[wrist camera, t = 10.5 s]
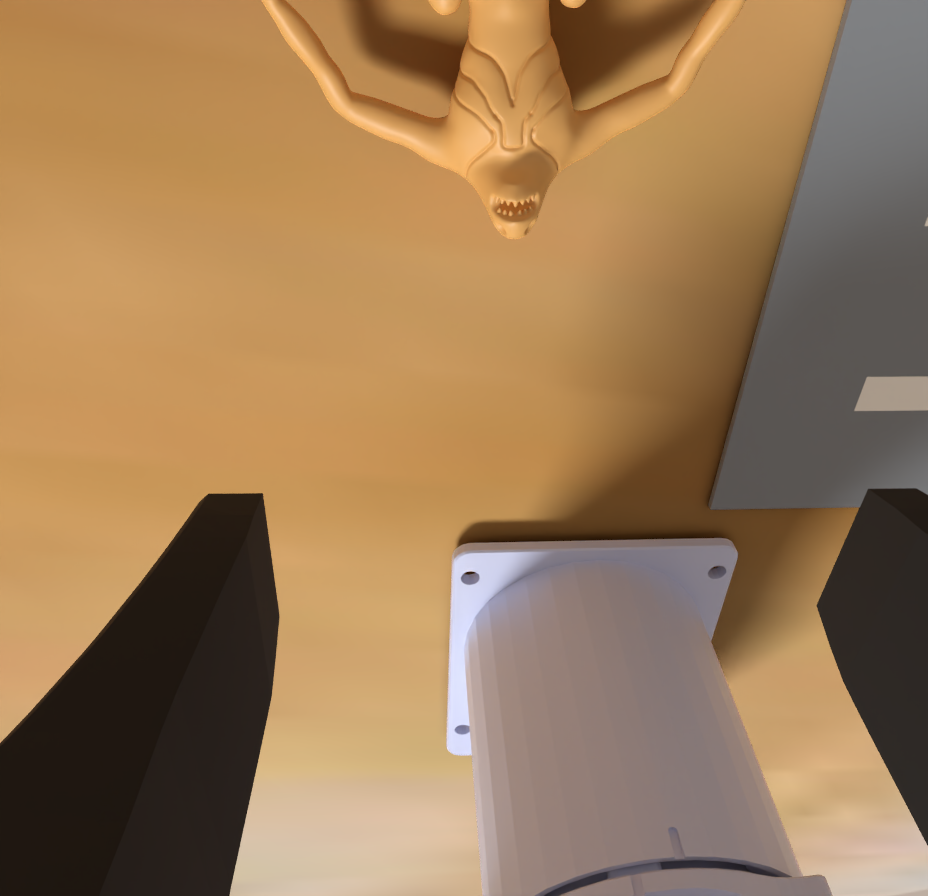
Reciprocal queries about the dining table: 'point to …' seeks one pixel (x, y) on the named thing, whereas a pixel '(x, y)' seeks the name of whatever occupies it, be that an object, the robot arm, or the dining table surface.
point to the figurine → (506, 102)
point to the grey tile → (846, 290)
